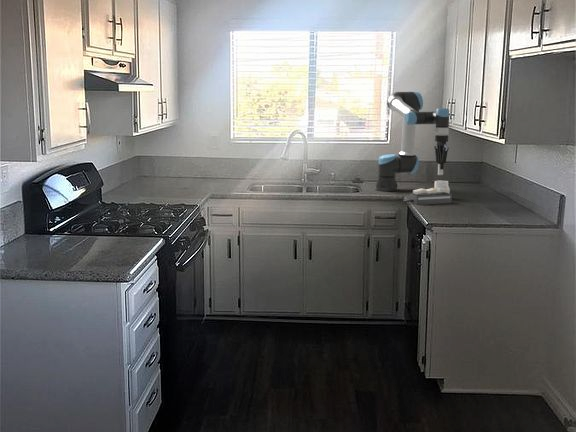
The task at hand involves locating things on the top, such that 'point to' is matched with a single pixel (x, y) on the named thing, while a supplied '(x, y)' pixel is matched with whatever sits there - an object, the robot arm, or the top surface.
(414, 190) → the rocker
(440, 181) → the mug
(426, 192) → the rocker
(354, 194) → the top surface
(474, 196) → the top surface
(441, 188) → the rocker
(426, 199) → the power strip
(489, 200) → the top surface
